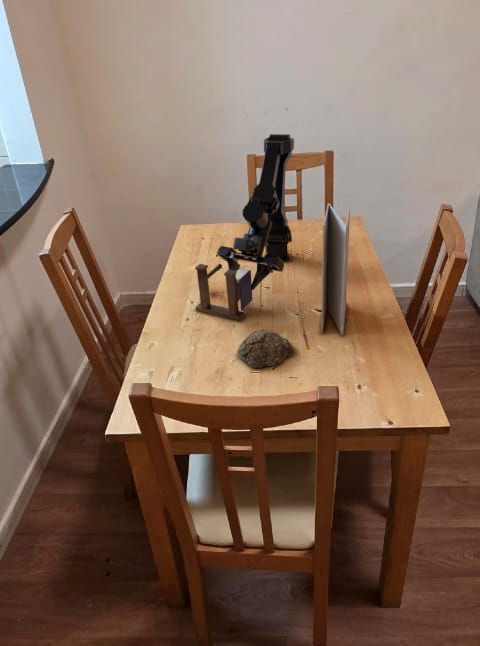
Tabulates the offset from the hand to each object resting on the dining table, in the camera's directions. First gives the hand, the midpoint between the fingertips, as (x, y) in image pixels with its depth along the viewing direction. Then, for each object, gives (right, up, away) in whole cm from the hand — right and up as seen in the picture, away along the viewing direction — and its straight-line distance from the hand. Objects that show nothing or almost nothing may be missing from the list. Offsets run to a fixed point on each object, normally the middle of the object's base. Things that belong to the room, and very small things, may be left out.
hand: (241, 287), depth 153 cm
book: (0, -5, +2) cm, 5 cm away
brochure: (+25, -9, -4) cm, 27 cm away
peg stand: (-4, -5, +5) cm, 8 cm away
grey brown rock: (+6, -17, -15) cm, 24 cm away
